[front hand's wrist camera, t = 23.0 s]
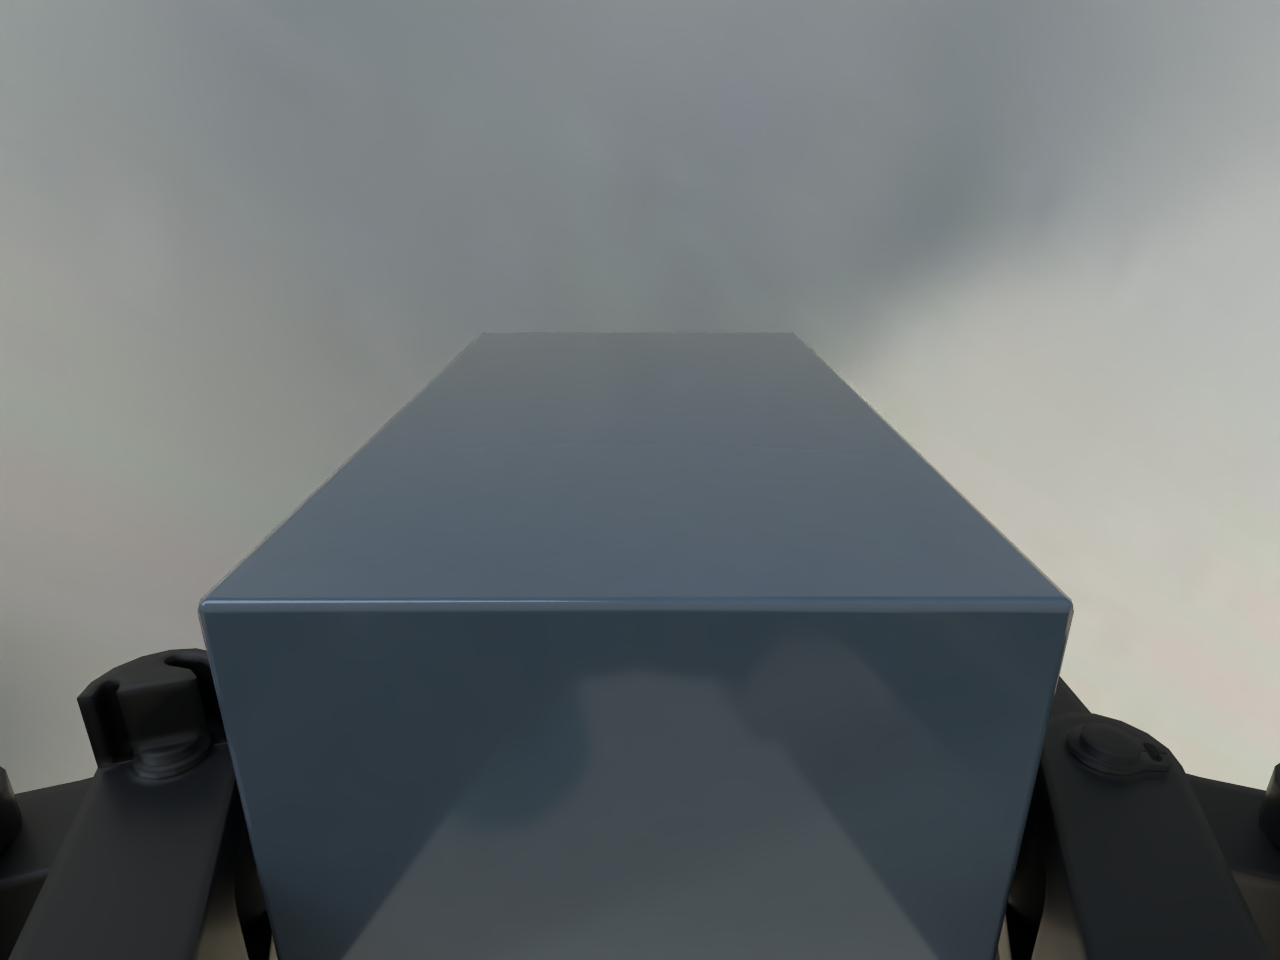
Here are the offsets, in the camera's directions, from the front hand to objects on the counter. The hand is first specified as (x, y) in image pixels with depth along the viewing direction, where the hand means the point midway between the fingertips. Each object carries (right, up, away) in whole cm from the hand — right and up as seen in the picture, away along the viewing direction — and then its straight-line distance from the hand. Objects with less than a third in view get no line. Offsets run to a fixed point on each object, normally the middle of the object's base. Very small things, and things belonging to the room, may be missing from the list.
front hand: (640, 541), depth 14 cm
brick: (0, +1, +2) cm, 2 cm away
